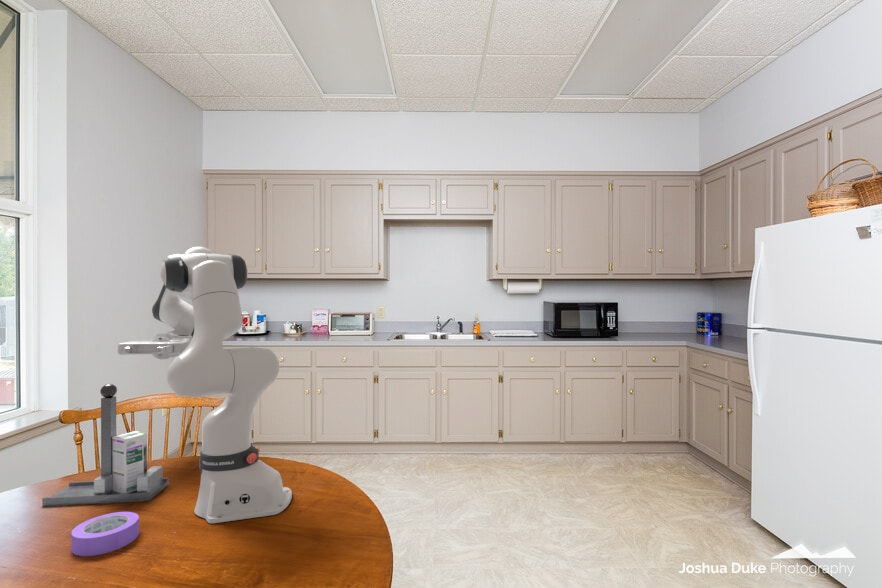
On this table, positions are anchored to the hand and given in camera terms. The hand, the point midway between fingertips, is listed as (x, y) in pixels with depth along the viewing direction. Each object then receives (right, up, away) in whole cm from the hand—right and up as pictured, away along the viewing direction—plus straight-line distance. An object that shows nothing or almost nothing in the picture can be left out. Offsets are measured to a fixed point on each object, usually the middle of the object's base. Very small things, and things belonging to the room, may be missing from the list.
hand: (143, 350), depth 137 cm
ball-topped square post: (+2, -35, -17) cm, 39 cm away
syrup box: (+7, -35, -16) cm, 39 cm away
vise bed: (+2, -36, -17) cm, 40 cm away
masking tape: (+18, -36, -39) cm, 56 cm away
